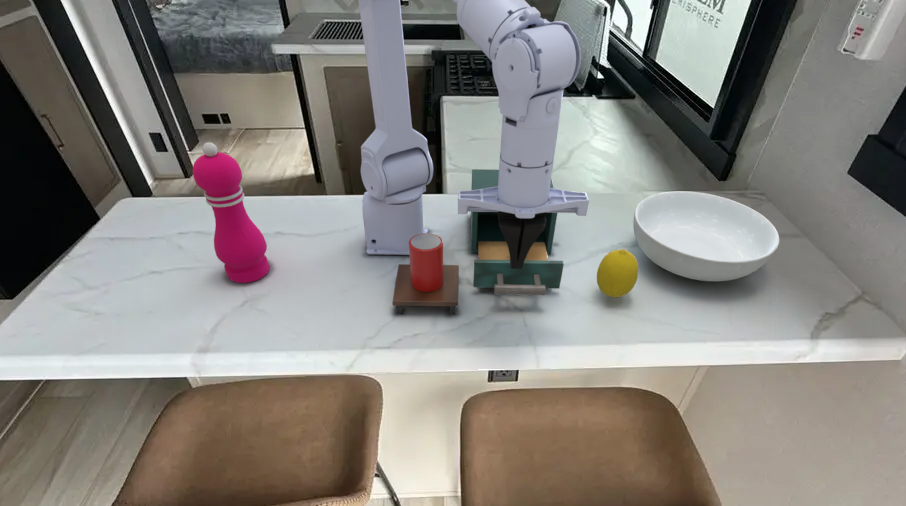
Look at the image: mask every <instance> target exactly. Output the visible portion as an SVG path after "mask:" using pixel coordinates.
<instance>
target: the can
mask: <svg viewBox="0 0 906 506" xmlns="http://www.w3.org/2000/svg"><path fill="white" fill-rule="evenodd" d="M408 256H409V264H410V271H411V284H412V286H413V287H414V288H415V289H416V290H418V291H422V292H432V291H435V290H438V289H439V288H441V286H442V285H443V265H444V241H443V239H442V237H441V236H439V235H437V234H434V233H430V232H427V233H422V234H418V235H415V236H413V237H412V238H411V239H410V240H409V255H408Z"/></svg>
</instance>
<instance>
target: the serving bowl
mask: <svg viewBox="0 0 906 506" xmlns="http://www.w3.org/2000/svg"><path fill="white" fill-rule="evenodd" d="M632 222H633V223H632V224H633V234H634V237H635V241H636V243H637V245H638V246H639V249H641V251H642V252H643V253H644V254H645V256H646V257H647V258H648V259H649V260H650V261H652V262H653V263H654V264H656V265H657V266H659V267H660V268H662V269H664V270H665V271H668V272H669V273H672V274H674V275H676V276H679V277H683V278H687V279H690V280H695V281H696V280H697V281H702V282H727V281H734V280H737V279H740V278H744V277H746V276H748V275H751V274H752V273H754V272H756V271H758V270H760V268H761V267H763V266H764V265H765V264H766V263H767V262H768V261H769V260H770V259H771V258H772V256H773V255H774V254H775V253H776V251H777V249H778V247H779V246H780V234H779V231H778V230H777V229H776V227H775V225H774V224H773V223H772V222H771V221H770V220H769V219H768V218H766V216H764V215H763V214H761V213H760V212H758V211H757V210H755V209H753V208H751V207H749V206H747V205H745V204H743V203H740V202H738V201H735V200H732V199H729V198H727V197H724V196H721V195H720V196H719V195H715V194H711V193H705V192H699V191H684V190H680V191H679V190H678V191H677V190H675V191H665V192H659V193H655V194H653V195H649V196H647V197H645V198H643V199H642V200H641V201H639V203H638V204H637V205H636V207H635V209H634V214H633V221H632Z"/></svg>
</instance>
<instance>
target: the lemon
mask: <svg viewBox="0 0 906 506" xmlns="http://www.w3.org/2000/svg"><path fill="white" fill-rule="evenodd" d="M638 277H639V263H638V260H637V258H636V257H635V255H634V254H633V253H632V252H631V251H629V250H626V249H623V248H622V249H614V250H611V251H610V252H608V253H607V254H606V255H604V256H603V258H602V260H601V262H600V263H599V265H598V268H597V270H596V283H597V286H598V288H599V290H600V291H601V292H602V293H603V294H604V295H606V296H608V297H610V298H620V297H623V296H626V295H627V294H629V293H630V292H631V291H632V290H633V288H635V285H636V283H637V281H638Z"/></svg>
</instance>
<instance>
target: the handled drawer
mask: <svg viewBox="0 0 906 506" xmlns="http://www.w3.org/2000/svg"><path fill="white" fill-rule="evenodd" d="M477 254H478V259H474V260H473V283H472V284H473V285H472V287H473V288H489V289H491V288H493V294H494V295H506V296H507V295H510V296H511V295H512V296H513V295H514V296H545V295H546V289H560V288H561V287H560V286H561V282H562V276H563V271H564V265H565V263H564V260H550V259H549V256H548V254H547V251H546V247H545V242H534V243H533V245H532V246H531V248H530V250H529V252H528V254H527V256H526V258H525V261H524V264H523V267H522V269H511V266H510V253H509V249H508V246H507V243H506V242H496V241H478V253H477Z"/></svg>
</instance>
